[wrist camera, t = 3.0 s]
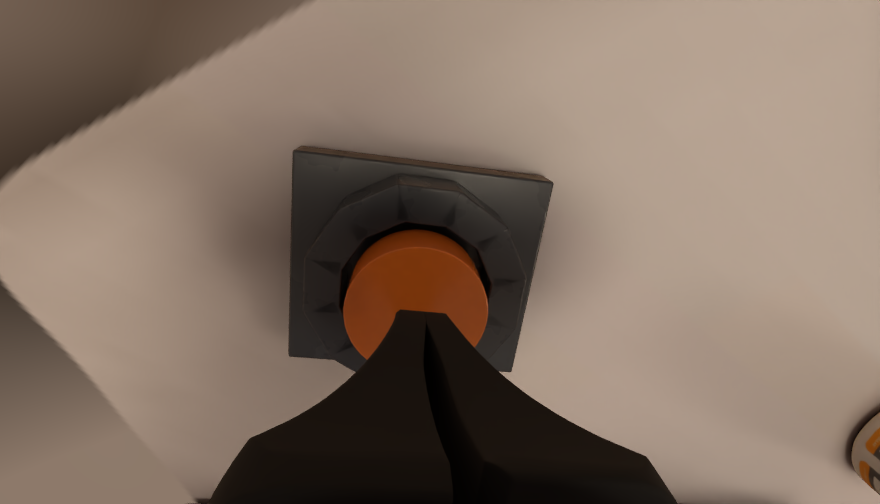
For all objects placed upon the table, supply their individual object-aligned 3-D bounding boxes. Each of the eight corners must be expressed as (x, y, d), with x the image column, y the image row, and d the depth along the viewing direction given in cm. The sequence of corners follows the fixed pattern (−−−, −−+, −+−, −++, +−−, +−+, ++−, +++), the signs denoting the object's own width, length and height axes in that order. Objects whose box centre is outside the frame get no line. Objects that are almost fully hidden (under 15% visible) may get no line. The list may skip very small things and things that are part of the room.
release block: (294, 340, 18) (274, 386, 15) (300, 145, 16) (276, 157, 13) (505, 356, 19) (522, 402, 16) (544, 175, 17) (573, 193, 14)
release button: (345, 341, 15) (339, 371, 14) (354, 222, 14) (347, 239, 12) (468, 350, 16) (476, 380, 14) (489, 236, 14) (500, 255, 13)
